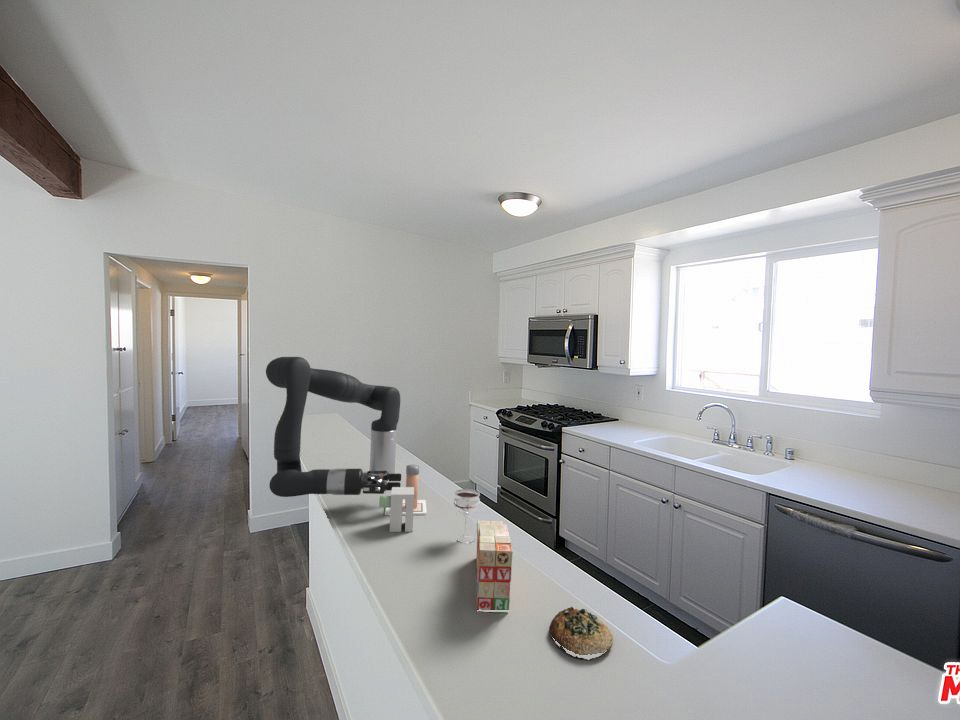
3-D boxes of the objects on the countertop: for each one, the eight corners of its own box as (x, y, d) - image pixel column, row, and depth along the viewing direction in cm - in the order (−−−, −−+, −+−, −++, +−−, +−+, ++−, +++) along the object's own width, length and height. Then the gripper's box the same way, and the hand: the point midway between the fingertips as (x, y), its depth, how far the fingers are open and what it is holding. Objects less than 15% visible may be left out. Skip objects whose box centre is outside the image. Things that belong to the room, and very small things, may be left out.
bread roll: (545, 616, 83) (550, 591, 83) (603, 628, 83) (609, 603, 83) (551, 660, 72) (557, 632, 72) (619, 675, 72) (625, 646, 71)
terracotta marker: (404, 504, 135) (406, 464, 134) (417, 504, 135) (419, 464, 135) (404, 509, 131) (406, 468, 131) (417, 509, 132) (419, 468, 131)
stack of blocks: (475, 558, 105) (478, 507, 105) (502, 559, 105) (504, 508, 105) (476, 613, 84) (479, 549, 83) (509, 614, 84) (512, 550, 83)
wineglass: (475, 546, 111) (477, 499, 110) (448, 542, 112) (451, 496, 112) (480, 535, 117) (482, 490, 117) (455, 532, 119) (457, 487, 118)
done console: (390, 522, 123) (392, 487, 122) (412, 522, 124) (414, 487, 123) (389, 532, 117) (391, 494, 116) (412, 531, 118) (414, 494, 117)
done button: (380, 505, 121) (380, 494, 120) (394, 505, 121) (395, 494, 121) (379, 509, 118) (379, 498, 117) (394, 509, 118) (394, 498, 118)
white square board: (387, 501, 139) (387, 499, 139) (425, 501, 140) (425, 499, 140) (384, 515, 128) (384, 513, 128) (426, 514, 130) (426, 512, 130)
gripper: (341, 476, 123) (400, 476, 125) (348, 462, 137) (401, 462, 139) (340, 503, 123) (399, 502, 126) (347, 486, 137) (400, 486, 140)
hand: (400, 481), depth 133 cm, fingers open, 8 cm apart
